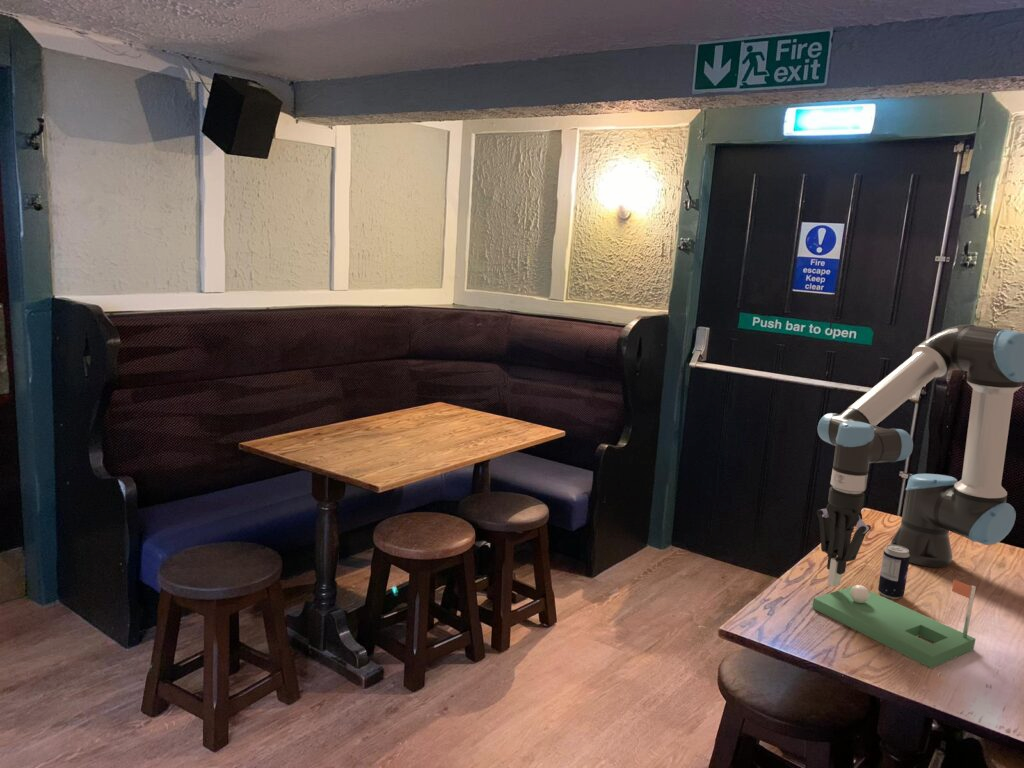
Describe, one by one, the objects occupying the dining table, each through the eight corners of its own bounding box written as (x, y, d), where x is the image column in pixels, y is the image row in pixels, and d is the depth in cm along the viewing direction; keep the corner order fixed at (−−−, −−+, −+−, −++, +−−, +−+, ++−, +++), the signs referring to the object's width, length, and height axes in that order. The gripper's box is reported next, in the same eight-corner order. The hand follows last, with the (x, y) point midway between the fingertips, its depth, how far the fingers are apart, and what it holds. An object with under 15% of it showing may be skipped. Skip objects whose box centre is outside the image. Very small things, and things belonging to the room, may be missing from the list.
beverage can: (906, 602, 185) (913, 554, 183) (880, 598, 186) (888, 551, 184) (899, 591, 190) (906, 545, 188) (874, 588, 191) (881, 542, 189)
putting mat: (855, 594, 187) (856, 585, 187) (973, 649, 164) (975, 638, 163) (812, 608, 179) (813, 598, 178) (930, 668, 156) (932, 656, 155)
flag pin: (944, 638, 168) (955, 578, 165) (965, 648, 164) (976, 586, 162) (942, 639, 167) (953, 579, 165) (963, 649, 164) (974, 587, 161)
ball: (856, 596, 180) (858, 580, 179) (871, 604, 177) (874, 587, 176) (845, 600, 178) (847, 584, 177) (861, 607, 175) (863, 591, 174)
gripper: (812, 482, 182) (800, 576, 186) (862, 499, 171) (848, 599, 175) (833, 478, 186) (820, 570, 190) (883, 495, 175) (868, 592, 179)
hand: (833, 584), depth 183 cm, fingers closed
